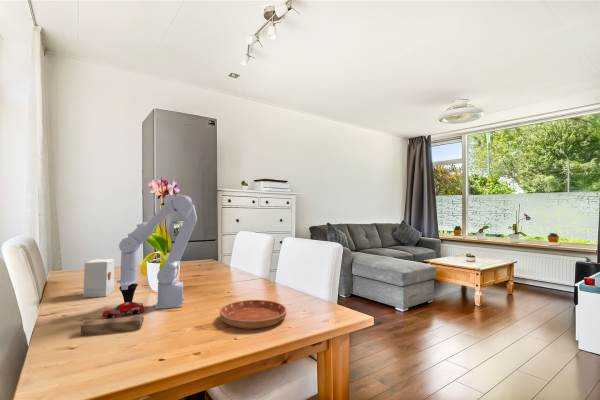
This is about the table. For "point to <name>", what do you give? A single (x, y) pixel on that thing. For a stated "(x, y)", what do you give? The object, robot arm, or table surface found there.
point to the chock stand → (111, 325)
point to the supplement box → (98, 278)
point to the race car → (123, 310)
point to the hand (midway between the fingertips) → (128, 304)
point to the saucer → (253, 313)
